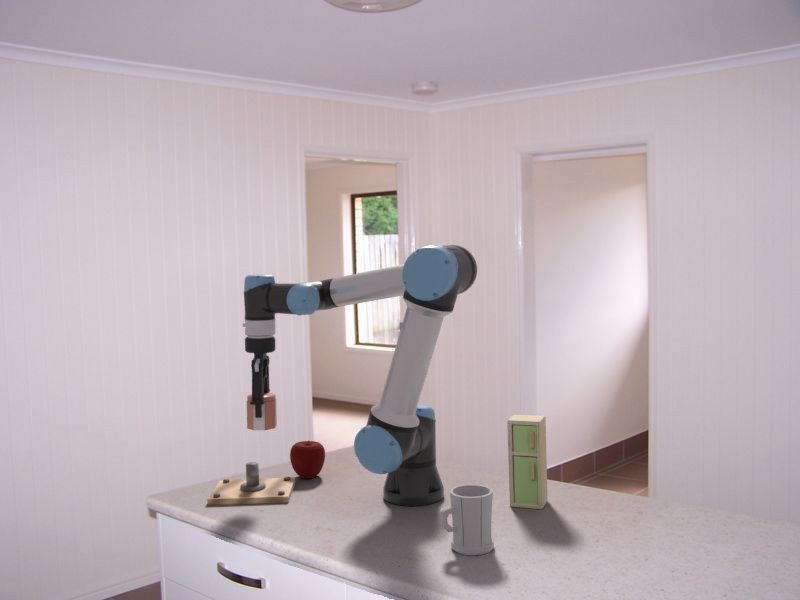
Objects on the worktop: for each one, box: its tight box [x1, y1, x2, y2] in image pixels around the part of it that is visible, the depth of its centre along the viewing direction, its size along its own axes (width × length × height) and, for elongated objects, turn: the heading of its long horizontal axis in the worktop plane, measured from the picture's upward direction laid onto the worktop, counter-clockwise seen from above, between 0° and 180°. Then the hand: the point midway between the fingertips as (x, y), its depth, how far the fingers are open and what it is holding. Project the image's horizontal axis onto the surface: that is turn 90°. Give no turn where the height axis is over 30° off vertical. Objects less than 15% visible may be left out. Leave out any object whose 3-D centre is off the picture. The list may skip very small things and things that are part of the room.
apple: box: [289, 440, 326, 479], centre depth 214 cm, size 10×10×10 cm
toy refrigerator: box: [507, 413, 549, 510], centre depth 186 cm, size 8×7×21 cm
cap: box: [246, 392, 278, 431], centre depth 197 cm, size 7×7×8 cm
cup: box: [439, 484, 495, 556], centre depth 160 cm, size 10×9×12 cm
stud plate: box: [206, 461, 296, 506], centre depth 201 cm, size 20×16×8 cm
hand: (261, 426), depth 198 cm, fingers closed on cap, 7 cm apart
